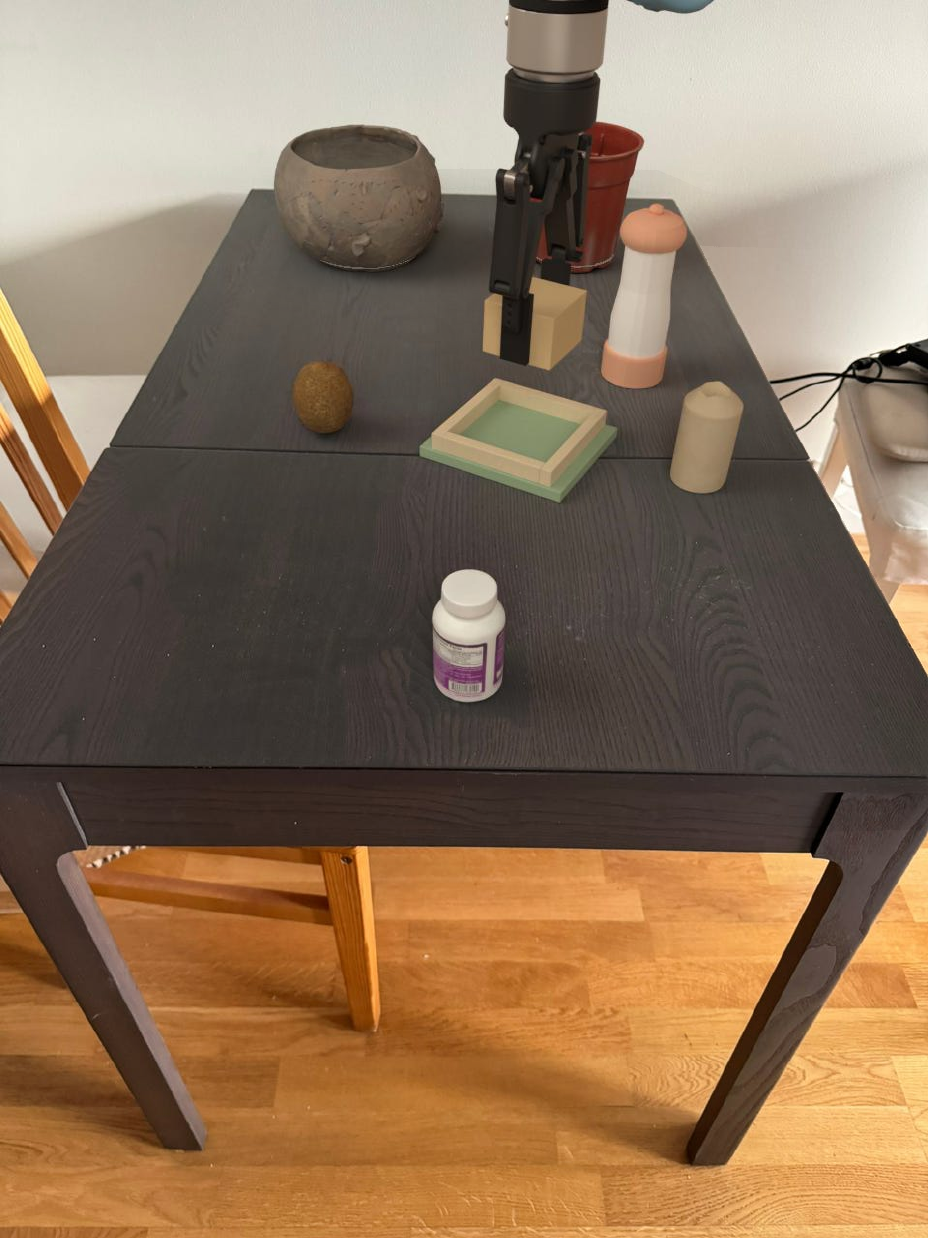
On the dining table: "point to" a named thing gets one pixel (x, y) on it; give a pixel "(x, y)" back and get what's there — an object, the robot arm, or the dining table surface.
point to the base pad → (522, 439)
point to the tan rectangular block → (542, 322)
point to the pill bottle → (468, 637)
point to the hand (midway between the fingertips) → (533, 343)
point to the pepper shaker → (643, 298)
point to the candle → (706, 438)
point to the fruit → (323, 397)
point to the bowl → (359, 195)
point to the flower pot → (604, 193)
